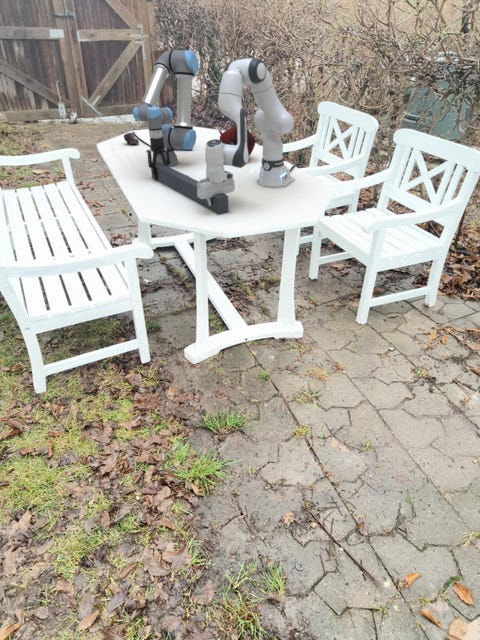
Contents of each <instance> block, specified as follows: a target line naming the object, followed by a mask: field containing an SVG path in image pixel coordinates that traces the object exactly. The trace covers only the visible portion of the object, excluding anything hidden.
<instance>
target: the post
mask: <svg viewBox="0 0 480 640" xmlns="http://www.w3.org/2000/svg"><path fill="white" fill-rule="evenodd" d="M155 168H156V169H157V177H158V180H157V182H159V183H161V184H163V185H165V186H167V187H169V188H170V189H172V190H174V191H176V192H177V193H179V194H181V195H183V196H185V197H187V198H189V199H190V200H192V201H194V202H195V203H197V204H199V205H202V206H203V207H205V208H206V209H208V210H210V211H212V212H214V213H216V214H218V215H223V214H226V213H229V195H227V194H226V195H225V194H223V193H221V194H217V195H213V197H211V199H210V201H211V202H213V205H212V206H209V204H208V201H207V199H200V198H198V197H197V182H198V181H199V180H196V179H195V178H193V177H191V176H188V175H187V174H185V173H182V172H180V171H179V170H176V169H175V168H173V167H171V166H166V165H164V164H162V163H160V162H156V166H155ZM150 172H151V178H153V179H154V180H156V179H155V178H154V174H153V172H152V168H150Z"/></svg>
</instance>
